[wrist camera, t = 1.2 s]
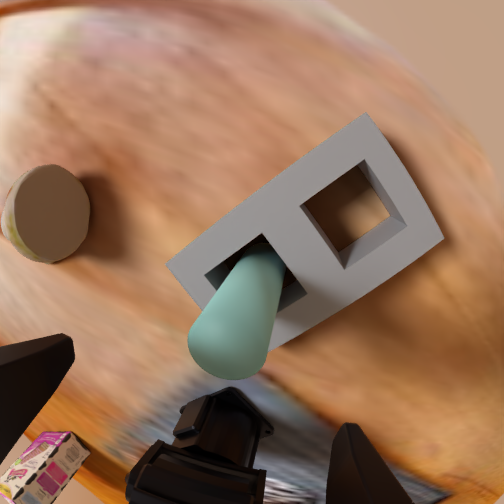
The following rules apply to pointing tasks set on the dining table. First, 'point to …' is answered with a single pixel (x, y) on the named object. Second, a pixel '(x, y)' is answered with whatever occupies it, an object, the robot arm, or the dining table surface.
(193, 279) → the block
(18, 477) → the candy bar box
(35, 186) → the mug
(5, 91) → the dining table surface
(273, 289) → the peg
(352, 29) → the dining table surface
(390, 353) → the dining table surface
